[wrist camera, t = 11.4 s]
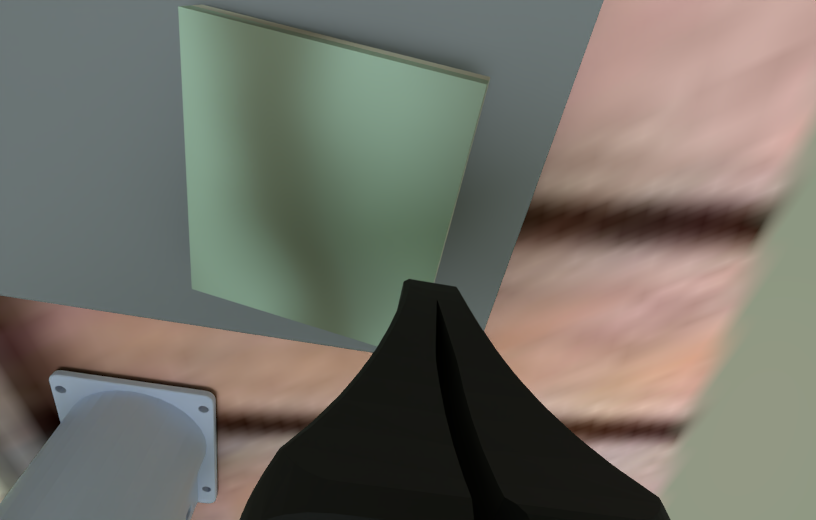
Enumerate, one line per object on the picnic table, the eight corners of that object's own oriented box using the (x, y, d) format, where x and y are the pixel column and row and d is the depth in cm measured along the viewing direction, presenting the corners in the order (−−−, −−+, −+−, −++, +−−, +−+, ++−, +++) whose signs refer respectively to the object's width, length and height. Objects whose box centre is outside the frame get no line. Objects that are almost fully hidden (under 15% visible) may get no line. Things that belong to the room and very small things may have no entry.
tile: (178, 6, 14) (202, 4, 15) (191, 288, 19) (209, 273, 20) (486, 84, 13) (490, 76, 14) (412, 357, 18) (419, 337, 19)
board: (468, 352, 24) (470, 367, 23) (-15, 277, 22) (-32, 290, 21) (600, -22, 15) (610, -21, 14) (-167, -203, 13) (-207, -213, 12)
